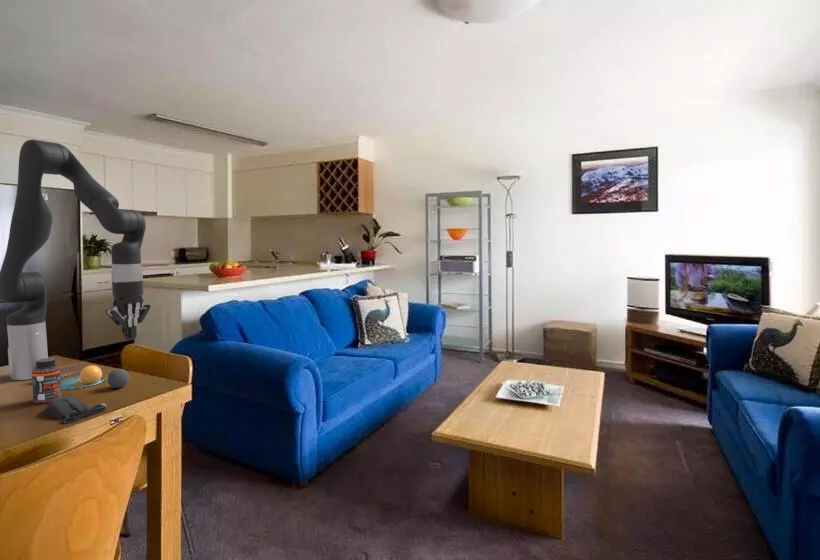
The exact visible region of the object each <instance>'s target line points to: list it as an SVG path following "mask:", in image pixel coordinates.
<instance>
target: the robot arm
mask: <svg viewBox="0 0 820 560" xmlns="http://www.w3.org/2000/svg"><path fill="white" fill-rule="evenodd" d="M46 174H47V175H55V176H57V175H60V176H62V177H64V178H65V179H67V180H69V182H71V183H73V190H74V191H73V192H74V193H75V196H76V198H77V199H78V201H80V203H81V204H83V205H84V206H85V207H86V208H88V210H90V211H91V212H92V213H94V216H95V217H96V219H97V220H98V222H99V223H100V225H101V227H102V228H103V229H104V230H106V231H107V232H109V233H111V234H114V235H115V234H116V235H123V237H122V239H121V241H120V242H116V243H114V244H113V245H112V246H111V248H110V249H111V250H110V251H111V252H110V253H111V290H112V291H111V292H112V297H113V298H114V300H113V303H112V305H113V306H112V307H111V308H110V309H107V310H105V314H106V315H107V317H109V318H110V319H111V320H112V322H113V323H114V324H115V325H116V326H118V327H119V326H120V327H123V337H124V338H125V340H127V341H128V340H129V341H130V340H135V339H136V338H137V335H138V334H137V333H138V332H137V326H138V325H139V324H141V323H143V321H144V319H146V318H145V317H146V316H147V314H148V312H149V311H150V310H151V305H150V304H147V303H146V302H144V298H143V295H144V278H143V267H142V259H141V258H142V256H141V253H142V252H141V249H142V245H143V241H144V237H145V233H146V227H147V224H146V223H147V222H146V219H145V216H144V215H143V214H142V212H140V211H138V210H135V209H127V208H125V209H124V208H119V207H120V202H119V200H118V199H117V197H116V196H115V195H113V194H112V193H111V192H109V190H108V189H106V188H105V187H104V186H102V185H101V183H99V182H98V181H97V180H96V179H95V178H94V177H92V175H91V174H90V172H89V171H88V170H87V169H86V168H85V166H84V165H83V164H82V163H81V162H80V161H79V160H78V158H77V157H76V156H75V155H74V153H73V152H72V151H71V150H70V149H69V148H68V147H67V146H65V145H63V144H60V143H57V142H52V141H46V140H39V139H28V140H26V141H24V142H23V143H22V145H21V147H20V151H19V158H18V173H17V187H16V188H17V189H16V195H15V200H14V201H15V202H14V206H13V210H12V215H11V220H10V227H9V233H8V240H7V245H6V249H5V250H6V251H5V255H4V257H3V258H4V259H3V262H2V264H1V268H0V301H1V302H2V303H6V304H14V303H15V304H16V303H24V302H25V303H24V305H23V306H22V307H21V308H20V309H18V310H17V311H14V312H12V313H10V314H8V315H7V316H6V329H7V339H8V341H7V342H8V348H7V355H8V369H9V371H8V372H9V378H10V379H11V380H12V381H26V380H32V370H33V369H35V368H36V361H37V360H39V359H44V358H49V356H48V355H49V354H48V353H49V352H48V340H47V339H48V336H47V325H46V324H47V323H46V315H47V283H46V280H45V278H44V276H43V274H42V273H40V272H37V271H26V272H23V271H24V267H25V265H26V264H27V263H28V261H29V260H30V259H31V258H32V257H33V256H34V255H35V254H36V253H37V252H38V251H39V250H40V249H41V248H42V247H43V246H44V245H45V244H46V243H47V242H48V240H49V238H50V235H51V231H52V225H53V219H54V218H53V213H52V212H51V209H50V207H49V205H48V204H47V201H46V200H45V197H44V195H43V194H42V179H43V175H46Z"/></svg>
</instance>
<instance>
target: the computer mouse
mask: <svg viewBox="0 0 820 560" xmlns="http://www.w3.org/2000/svg"><path fill="white" fill-rule="evenodd" d="M107 407H108V406H107V405H106V404H105V403H101V404H99V403H98V404H95V405H91V406H89V407H88V406H87V405H86V404H85V403H84V402H82V401H81V400H79V399H77V398H74V397H68V396H67V397H61V398H59V399H56V400H54V401H52V402H49V403H48V404H47V405H46V407H45V409H44V415H46V416H49V417H50V416H51V417H54V418H56V419H59V420H61V423H62V424H63V425H69V424H72V423H75V422H77V421H79V420H81V419H82V418H86V417H89V416H93V415H97V414H101V413H105V412H106V411H107Z"/></svg>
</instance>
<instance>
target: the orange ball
mask: <svg viewBox="0 0 820 560" xmlns="http://www.w3.org/2000/svg"><path fill="white" fill-rule="evenodd" d="M102 375H103V371H102V369H101V368H100V367H99V366H97V365H88V366H84V367H83V369H82V370H80V373H79V376H80V379H81V381H82V382H84V383H86V384H93V383H96V382H98V381H99V380H100V379H101V377H102Z"/></svg>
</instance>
